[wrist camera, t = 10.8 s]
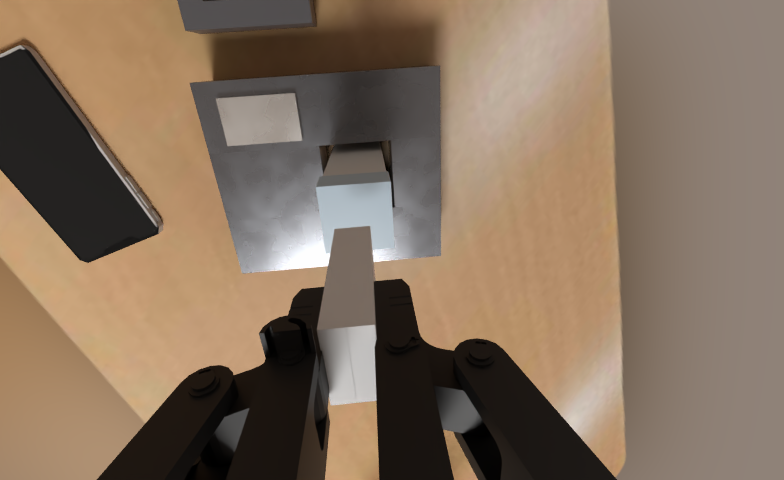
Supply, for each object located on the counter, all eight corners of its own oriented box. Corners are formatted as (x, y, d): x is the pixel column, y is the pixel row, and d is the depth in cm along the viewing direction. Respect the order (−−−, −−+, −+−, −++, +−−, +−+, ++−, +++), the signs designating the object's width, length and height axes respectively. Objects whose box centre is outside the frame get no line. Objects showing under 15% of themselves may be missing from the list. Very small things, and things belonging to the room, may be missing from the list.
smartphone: (25, 42, 24) (163, 231, 31) (39, 43, 26) (170, 226, 32) (-73, 89, 25) (81, 265, 31) (-55, 88, 26) (91, 258, 33)
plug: (333, 142, 29) (315, 186, 18) (380, 139, 29) (390, 181, 19) (338, 188, 31) (325, 253, 20) (383, 184, 31) (394, 247, 20)
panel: (212, 80, 27) (187, 83, 23) (429, 65, 27) (441, 65, 23) (255, 250, 33) (240, 276, 29) (432, 235, 33) (441, 258, 29)
